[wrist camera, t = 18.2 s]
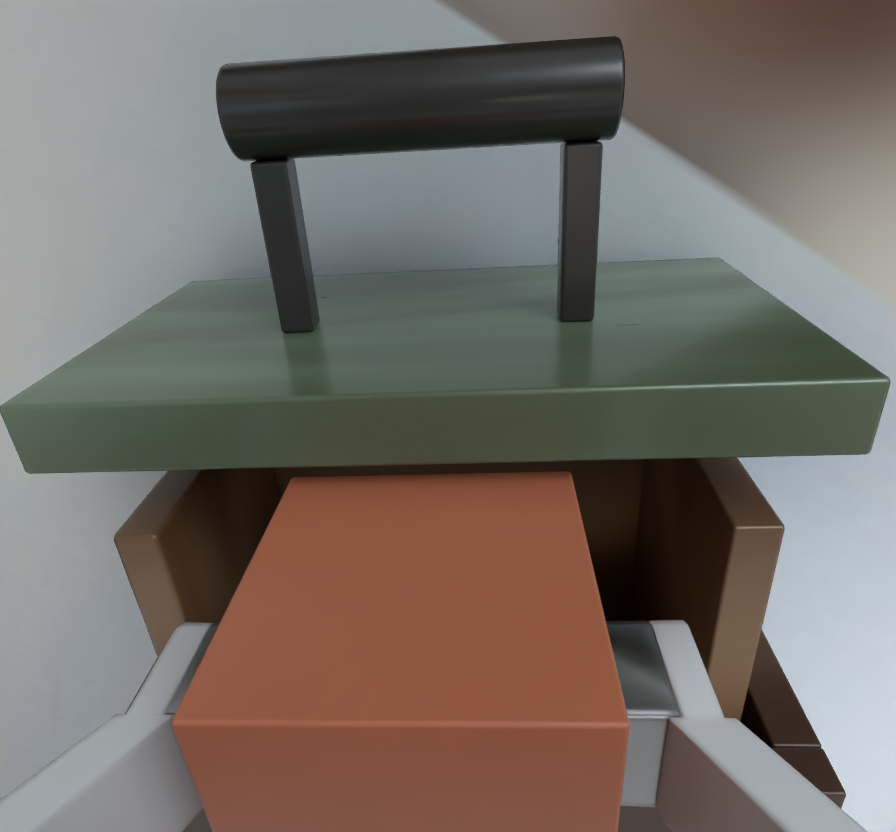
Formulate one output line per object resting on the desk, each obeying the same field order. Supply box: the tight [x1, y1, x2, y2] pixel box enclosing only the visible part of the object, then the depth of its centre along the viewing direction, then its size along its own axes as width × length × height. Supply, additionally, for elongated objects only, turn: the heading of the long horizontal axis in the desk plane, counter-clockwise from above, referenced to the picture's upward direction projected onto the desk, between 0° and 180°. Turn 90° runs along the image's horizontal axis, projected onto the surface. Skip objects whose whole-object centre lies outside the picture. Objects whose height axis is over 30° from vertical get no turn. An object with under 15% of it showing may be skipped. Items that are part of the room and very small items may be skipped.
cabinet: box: [125, 629, 846, 832], centre depth 19 cm, size 16×14×9 cm
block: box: [172, 471, 630, 832], centre depth 9 cm, size 4×4×4 cm
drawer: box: [0, 36, 890, 721], centre depth 14 cm, size 19×13×7 cm, turn 3°
